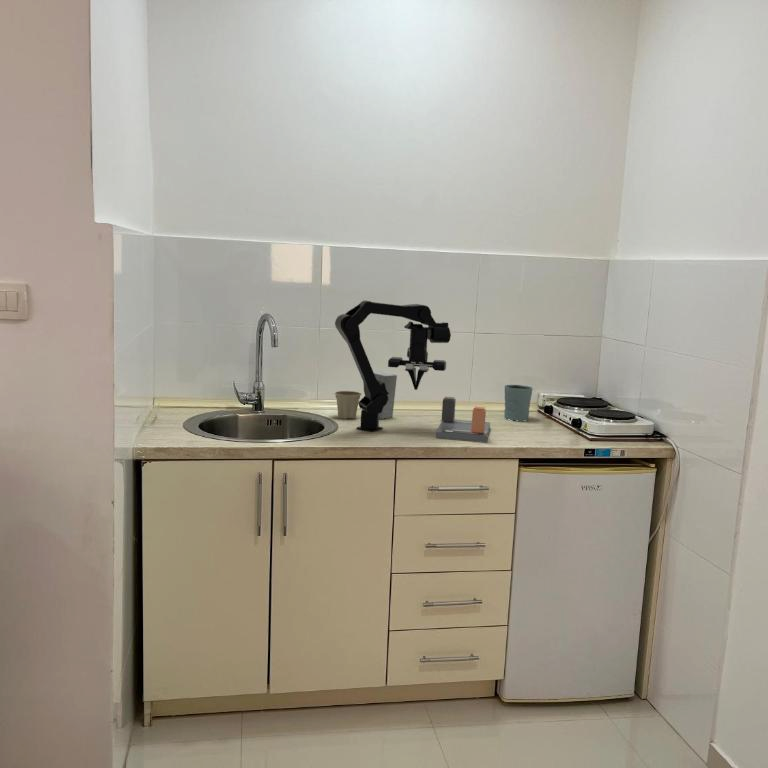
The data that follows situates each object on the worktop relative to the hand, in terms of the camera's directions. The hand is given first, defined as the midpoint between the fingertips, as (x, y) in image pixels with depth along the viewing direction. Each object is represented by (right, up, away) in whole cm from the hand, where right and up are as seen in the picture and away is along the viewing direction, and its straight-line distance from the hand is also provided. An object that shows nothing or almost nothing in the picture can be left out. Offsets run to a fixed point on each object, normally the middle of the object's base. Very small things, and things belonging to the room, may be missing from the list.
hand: (415, 389), depth 254 cm
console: (+16, -14, -2) cm, 21 cm away
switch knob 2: (+19, -13, -10) cm, 25 cm away
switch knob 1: (+11, -10, +6) cm, 16 cm away
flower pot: (-24, -10, +14) cm, 29 cm away
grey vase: (-12, -10, +18) cm, 24 cm away
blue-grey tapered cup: (+38, -11, +26) cm, 47 cm away
